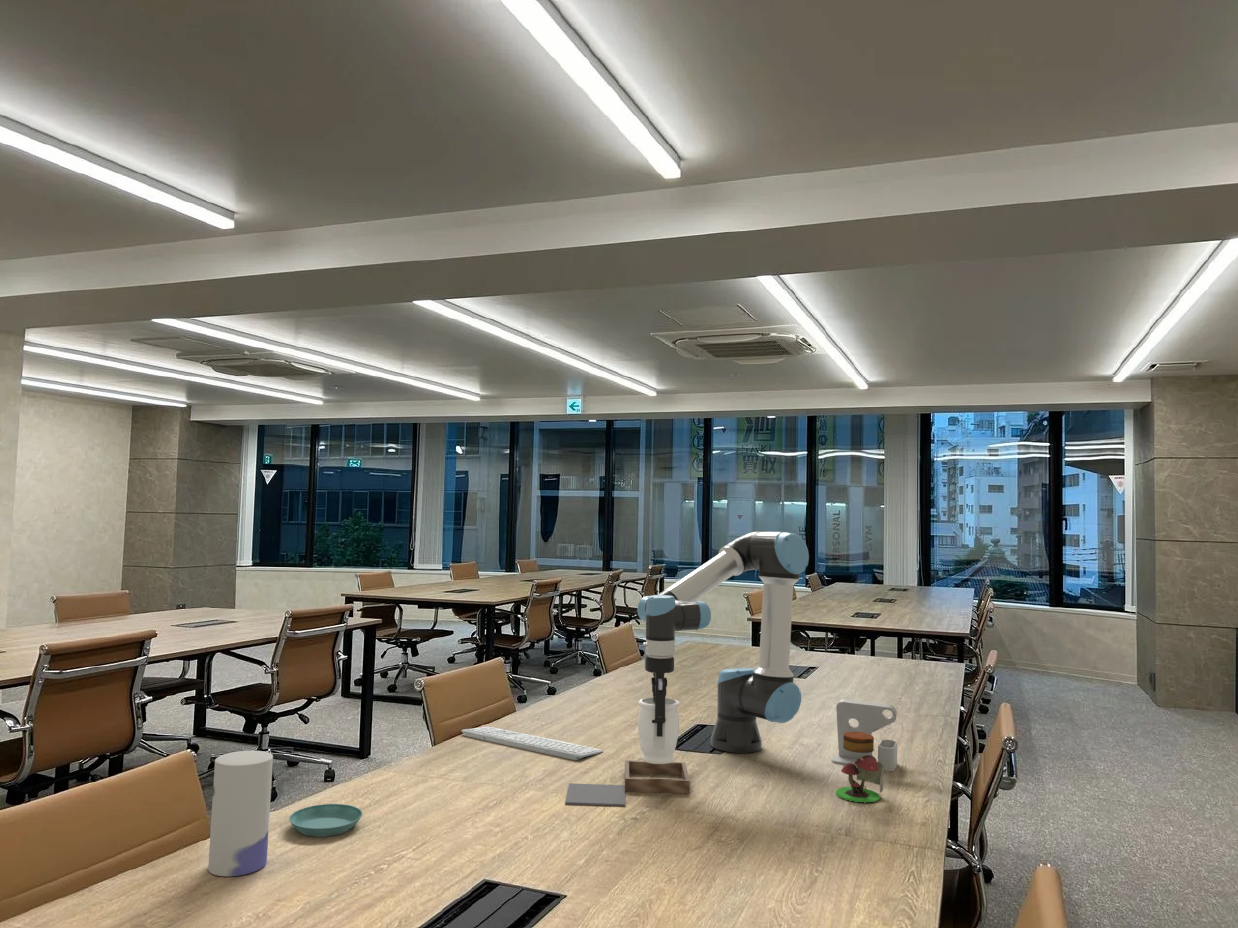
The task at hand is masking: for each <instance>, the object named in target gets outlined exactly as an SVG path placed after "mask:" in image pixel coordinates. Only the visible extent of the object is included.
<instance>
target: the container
mask: <svg viewBox="0 0 1238 928" xmlns="http://www.w3.org/2000/svg"><path fill="white" fill-rule="evenodd" d="M273 760H274V755H273V754H272V753H271V752H267V751H262V750H241V751H240V750H239V751H234V752H230V753H225V754H222V755H219V756H218V757H216V758H215V760H214V769H213V771H214V773H213V786H212V787H213V788H212V791H213V792H212V804H211V820H210V836H209V849H208V851H209V852H208V866H207V869H208V872H209V873H211V874H212V875H214V876H219V877H239V876H245V875H249V874H251V873H254V872H257V871H259V870H261V869H262V868H264V867H265V866H266V865H267V863H268V862H267V861H268V850H269V849H268V847H269V845H268V843H269V830H270V829H269V827H270V814H271V813H270V812H271V811H270V810H271V799H272V798H271V796H272V795H271V794H272V778H273V762H274V761H273Z"/></svg>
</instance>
